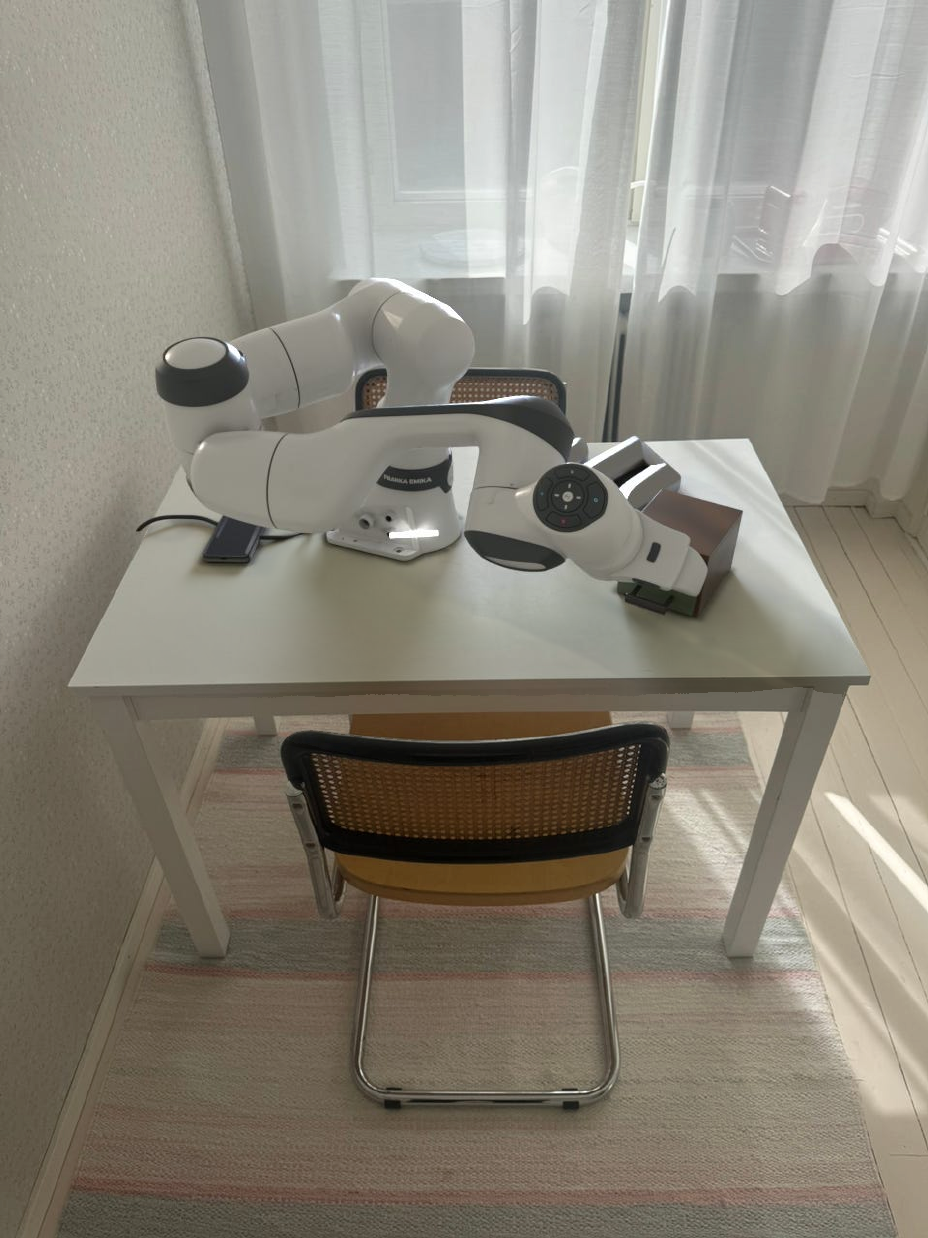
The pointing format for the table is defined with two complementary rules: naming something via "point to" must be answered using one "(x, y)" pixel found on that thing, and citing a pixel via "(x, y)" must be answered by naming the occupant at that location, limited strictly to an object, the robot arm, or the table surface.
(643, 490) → the emblem
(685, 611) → the green drawer
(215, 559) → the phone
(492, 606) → the table surface
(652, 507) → the cabinet
